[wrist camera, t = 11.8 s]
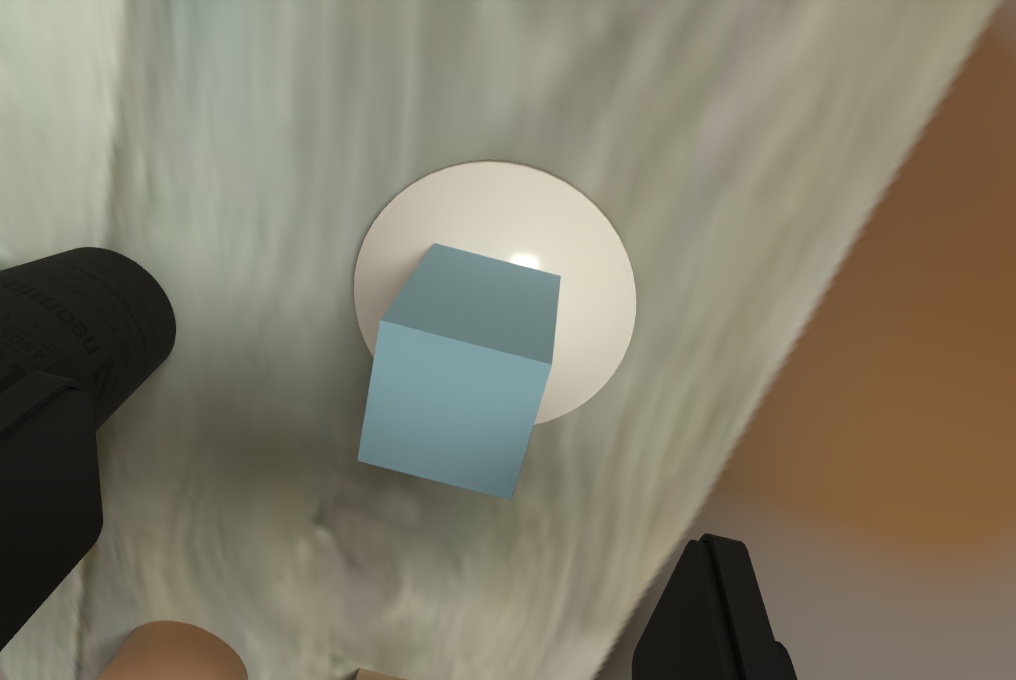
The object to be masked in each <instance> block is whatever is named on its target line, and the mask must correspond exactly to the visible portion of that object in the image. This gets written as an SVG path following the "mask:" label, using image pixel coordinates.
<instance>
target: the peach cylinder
mask: <svg viewBox="0 0 1016 680" xmlns="http://www.w3.org/2000/svg"><path fill="white" fill-rule="evenodd" d="M96 680H248V675H247V671H246V668H245V666H244V664H243V662H242V660H241V659H240V657H239V656H238V655H237V653H236V652H235V651H234V650H233V649H232V648H231V647H230V646H229V645H228V644H227V643H225V642H224V641H223V640H221V639H220V638H218V637H217V636H215V635H213V634H212V633H210V632H208V631H206V630H204V629H201V628H199V627H196V626H193V625H190V624H186V623H181V622H175V621H156V622H151V623H147V624H144V625H142V626H140V627H138V628H136V629H135V630H134V631H133V632H132V633H131V634H130V635H129V636H128V638H127V639H126V640H125V642H124V643H123V644H122V645H121V647H120V648H119V649H118V651H117V652H116V653H115V655H114V656H113V657H112V659H111V660H110V661H109V663H108V664H107V665H106V667H105V668H104V669H103V671H102V672H101V673H100V675H99V676H98V677H97V679H96Z"/></svg>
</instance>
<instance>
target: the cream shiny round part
mask: <svg viewBox="0 0 1016 680" xmlns="http://www.w3.org/2000/svg"><path fill="white" fill-rule="evenodd" d="M434 243H437V244H440V245H444V246H448V247H452V248H456V249H460V250H463V251H467V252H471V253H475V254H479V255H483V256H486V257H490V258H494V259H498V260H502V261H506V262H509V263H513V264H517V265H521V266H525V267H529V268H533V269H536V270H540V271H544V272H548V273H552V274H556V275H559V276H561V280H560V290H559V300H558V310H557V320H556V330H555V340H554V350H553V360H552V367H551V370H550V373H549V376H548V380H547V383H546V386H545V390H544V393H543V396H542V400H541V403H540V406H539V410H538V413H537V416H536V420H535V423H534V425H536V424H539V423H543V422H547V421H550V420H552V419H555V418H557V417H560V416H562V415H564V414H566V413H568V412H570V411H572V410H574V409H575V408H577V407H579V406H580V405H582V404H583V403H584V402H586V401H587V400H589V399H590V398H591V397H592V396H593V395H594V394H596V393H597V392H598V391H599V390H600V389H601V388H602V387H603V386H604V385H605V384H606V382H607V381H608V380H609V379H610V377H611V376H612V375H613V374H614V372H615V371H616V369H617V367H618V366H619V364H620V362H621V361H622V359H623V357H624V355H625V352H626V350H627V348H628V345H629V343H630V339H631V336H632V332H633V328H634V323H635V315H636V290H635V283H634V277H633V271H632V267H631V264H630V260H629V257H628V254H627V251H626V248H625V246H624V244H623V242H622V240H621V238H620V236H619V234H618V232H617V230H616V229H615V227H614V226H613V224H612V223H611V221H610V220H609V218H608V217H607V216H606V215H605V213H604V212H603V211H602V210H601V209H600V208H599V207H598V205H597V204H596V203H595V202H594V201H593V200H591V199H590V198H589V197H588V196H587V195H586V194H585V193H583V192H582V191H581V190H580V189H578V188H577V187H575V186H574V185H572V184H571V183H569V182H568V181H566V180H565V179H563V178H561V177H558V176H556V175H554V174H552V173H550V172H548V171H546V170H543V169H540V168H537V167H534V166H531V165H528V164H523V163H517V162H512V161H503V160H479V161H468V162H464V163H459V164H455V165H450V166H447V167H445V168H442V169H439V170H437V171H434V172H432V173H430V174H428V175H426V176H424V177H422V178H421V179H419V180H417V181H415V182H414V183H413V184H411V185H410V186H409V187H407V188H406V189H405V190H403V191H402V192H401V193H400V194H398V195H397V196H396V197H395V198H394V199H393V200H392V201H391V202H390V203H389V204H388V205H387V206H386V207H385V208H384V209H383V211H382V212H381V213H380V215H379V216H378V217H377V219H376V220H375V221H374V223H373V224H372V226H371V228H370V230H369V231H368V233H367V235H366V237H365V239H364V241H363V244H362V247H361V250H360V252H359V255H358V259H357V264H356V269H355V276H354V302H355V310H356V315H357V319H358V324H359V327H360V329H361V332H362V335H363V338H364V340H365V342H366V344H367V346H368V348H369V350H370V353H371V354H372V356H373V357H374V355H375V349H376V343H377V337H378V331H379V324H380V320H381V318H382V317H383V315H384V314H385V313H386V311H387V310H388V308H389V307H390V306H391V304H392V303H393V301H394V300H395V298H396V297H397V296H398V294H399V293H400V291H401V290H402V289H403V287H404V286H405V284H406V283H407V281H408V280H409V279H410V277H411V276H412V274H413V273H414V272H415V270H416V269H417V267H418V266H419V264H420V263H421V262H422V260H423V259H424V257H425V256H426V255H427V253H428V252H429V250H430V249H431V248H432V246H433V245H434Z"/></svg>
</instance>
